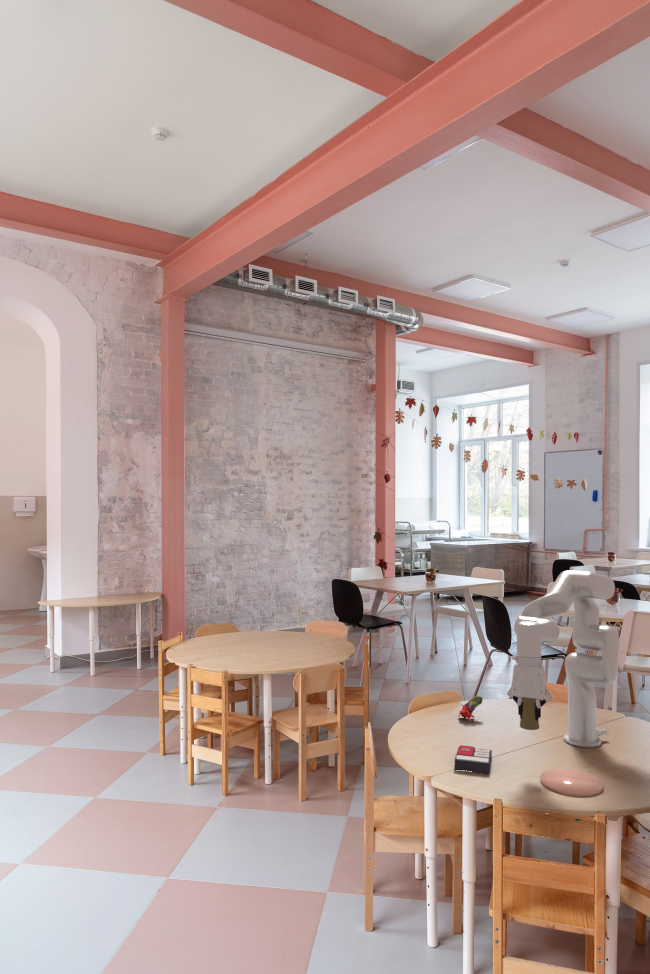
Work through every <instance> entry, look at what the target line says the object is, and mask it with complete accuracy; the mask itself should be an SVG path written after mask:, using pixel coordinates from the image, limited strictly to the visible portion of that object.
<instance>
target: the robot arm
mask: <svg viewBox="0 0 650 974" xmlns="http://www.w3.org/2000/svg"><path fill="white" fill-rule="evenodd" d="M615 589H616V585H615V582H614V580H613V578H612V577H610V576H608V575H607V574H602V573H599V572H592V571H587V570H586V571H585V570H584V571H583V570H571V569H570V570H564V571H562V572H560V573H559V575H558V576H557V577H556V580H555V581H554V583H553V584H552V586H551V587H550V589H549V590H548V592H547V594H546V595H543V596H540V597H539V598H537V599H535V600H532V601H531V602H529V603H528V604H526V605H525V606H524V607H523V608H522V609H521V611H520V613H519V614H518V615H517V617H516V619H515V621H514V625H513V631H514V634H515V636H516V655H512V660H513V661H515V662H516V663H514V664H513V668H512V680H511V681H512V684H511V687H510V688H509V689H508V691H507V693H506V695H507V696H508V697H509V698H511V699H512V700H513V701H514V702H515V703H516V705H517V708H518V710H517V712H518V716H519V719H520V720H521V719H522V710H523V706H522V704H523V702H522V699H521V698H530V699H536V708H535V718H536V721H539V719H541V717H542V709H541V708H542V707H543V706H544V705H545V704H546V703H548V702H550V701H552V700H553V697H552V695H551V693H550V691H549V690H548V688H547V681H546V671H545V666H544V665H542V644H550V643H553V642H555V641H556V640H557V639H558V638H559V636H560V631H561V630H560V627H559V625H558V624H557V622H556V621H554V620H553V619H551V620H550V619H548V618H547V619H546V617H553V616H557V615H561V614H564V613H566V612H568V611H569V610H570V608H571V606H572V605H573V609H574V614H573V615H574V616H573V625H572V626H573V627H572V636H571V638H572V639H571V640H572V644H573V645H574V647H575V648H577V649H580V650H586V651H591V652H592V651H594V652H599V653H600V654H601V655H597V654H590V653H585V652H571V653H569V654H568V655H567V656H566V657H565V659H564V668H565V673H566V674H565V675H566V680H567V717H568V718H567V724H568V725H567V730H568V731H567V732H568V733H565V734H564V735H563V740H564V741H565V742H566V743H568V744H570V745H572V746H576V747H580V748H581V747H582V748H595V747H599V746H601V745H602V739H601V738H600V737H601V736H603V735H604V736H605V735H607V734H608V730H607V729H606V728H602V729H599V728H598V727H597V693H596V689H595V687H594V686H593V683H594V684H601V685H607V686H609V685H612V684H614V682H615V681H616V679H617V675H618V666H619V652H620V636H619V632H618V631H617V629H616V628H615V627H613V626H611V625H605V624H599V623H600V608H599V607H598V604H597V603H596V601H595V600H602V601H603V600H605V601H606V600H610V599H611V598H612V597H613V596H614V594H615V591H616V590H615ZM594 599H595V600H594Z"/></svg>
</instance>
